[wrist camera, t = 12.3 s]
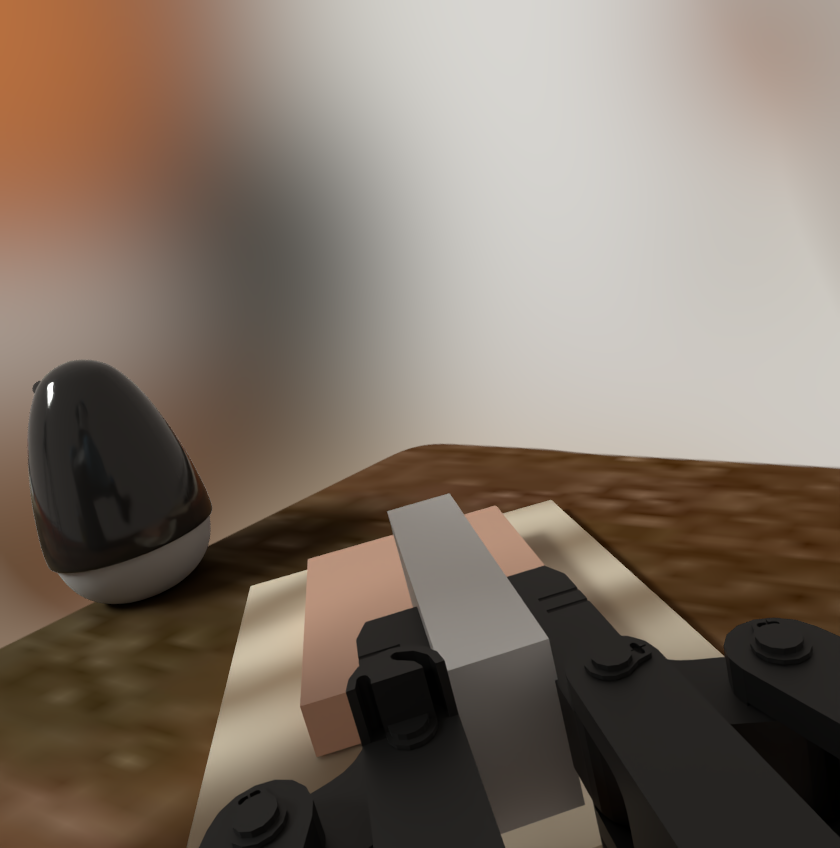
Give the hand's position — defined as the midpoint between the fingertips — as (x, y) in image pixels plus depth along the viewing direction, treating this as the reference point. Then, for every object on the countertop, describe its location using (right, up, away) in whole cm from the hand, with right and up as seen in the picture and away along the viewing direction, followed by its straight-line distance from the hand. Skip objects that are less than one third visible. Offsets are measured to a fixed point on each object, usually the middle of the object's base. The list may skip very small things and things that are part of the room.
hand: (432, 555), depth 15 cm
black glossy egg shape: (-18, -8, +28) cm, 34 cm away
